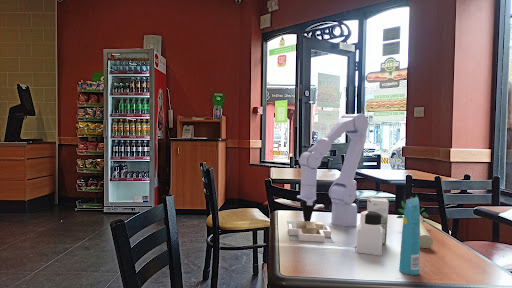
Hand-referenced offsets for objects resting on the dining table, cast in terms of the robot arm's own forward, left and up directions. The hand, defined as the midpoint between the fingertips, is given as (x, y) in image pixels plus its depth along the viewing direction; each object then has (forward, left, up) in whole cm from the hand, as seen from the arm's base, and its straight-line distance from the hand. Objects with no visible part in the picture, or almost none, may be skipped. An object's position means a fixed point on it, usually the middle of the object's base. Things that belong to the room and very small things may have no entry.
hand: (307, 221), depth 134 cm
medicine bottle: (-17, +23, -3) cm, 29 cm away
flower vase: (-39, +1, -3) cm, 40 cm away
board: (0, +7, -3) cm, 7 cm away
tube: (-23, +39, -3) cm, 45 cm away
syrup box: (-22, +12, -3) cm, 25 cm away
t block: (0, +12, -2) cm, 12 cm away
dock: (0, +13, -2) cm, 13 cm away
